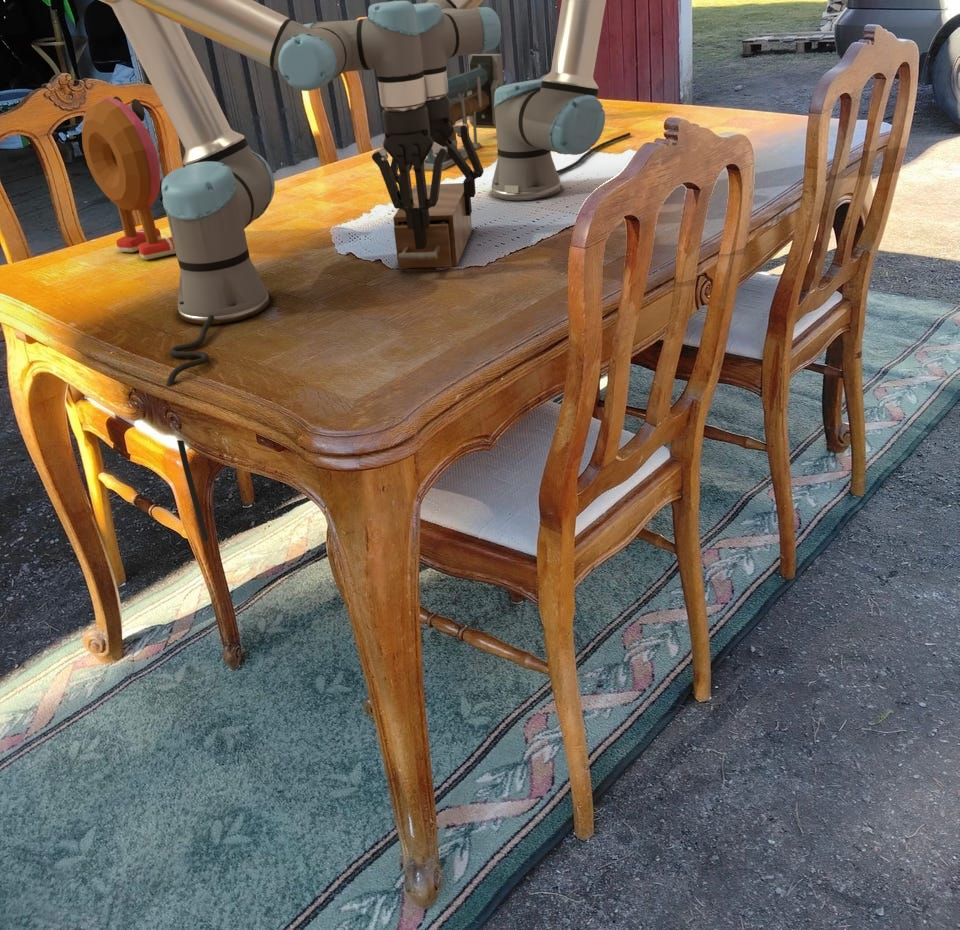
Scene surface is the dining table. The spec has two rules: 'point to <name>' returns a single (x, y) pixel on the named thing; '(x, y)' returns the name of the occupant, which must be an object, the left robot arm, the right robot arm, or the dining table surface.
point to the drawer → (432, 254)
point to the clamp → (473, 99)
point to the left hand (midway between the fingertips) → (421, 246)
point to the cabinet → (447, 215)
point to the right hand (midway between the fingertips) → (439, 215)
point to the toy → (126, 170)
